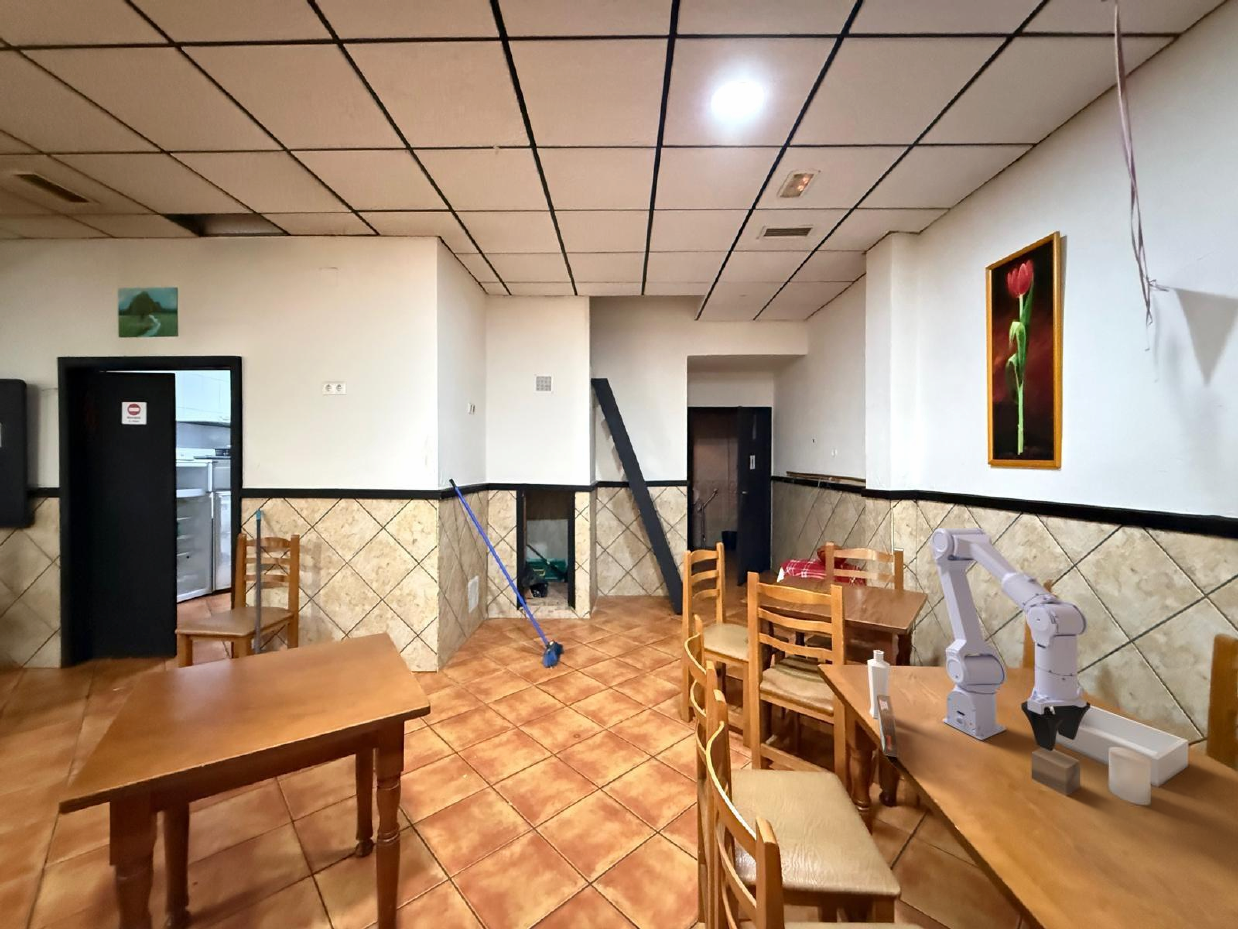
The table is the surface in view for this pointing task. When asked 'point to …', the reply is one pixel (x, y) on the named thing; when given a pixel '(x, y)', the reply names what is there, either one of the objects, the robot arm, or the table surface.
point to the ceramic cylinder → (1130, 775)
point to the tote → (1128, 742)
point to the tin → (887, 726)
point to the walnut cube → (1056, 770)
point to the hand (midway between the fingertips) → (1055, 742)
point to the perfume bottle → (877, 680)
